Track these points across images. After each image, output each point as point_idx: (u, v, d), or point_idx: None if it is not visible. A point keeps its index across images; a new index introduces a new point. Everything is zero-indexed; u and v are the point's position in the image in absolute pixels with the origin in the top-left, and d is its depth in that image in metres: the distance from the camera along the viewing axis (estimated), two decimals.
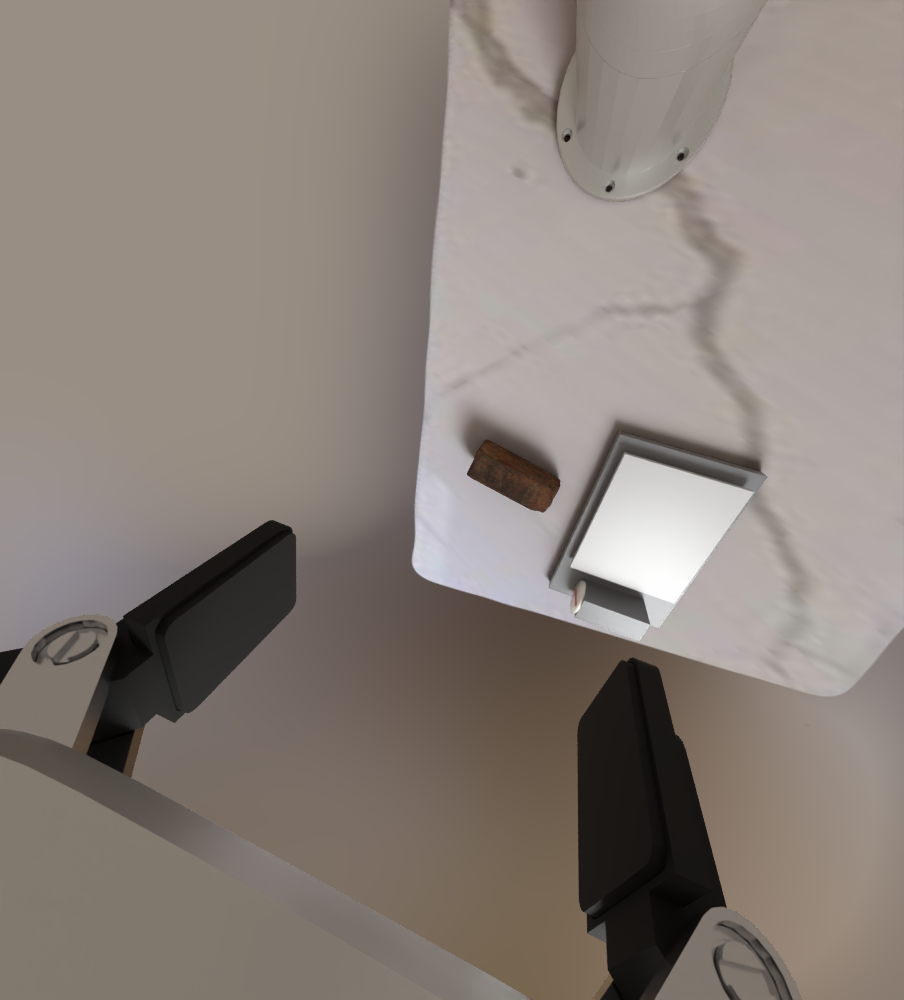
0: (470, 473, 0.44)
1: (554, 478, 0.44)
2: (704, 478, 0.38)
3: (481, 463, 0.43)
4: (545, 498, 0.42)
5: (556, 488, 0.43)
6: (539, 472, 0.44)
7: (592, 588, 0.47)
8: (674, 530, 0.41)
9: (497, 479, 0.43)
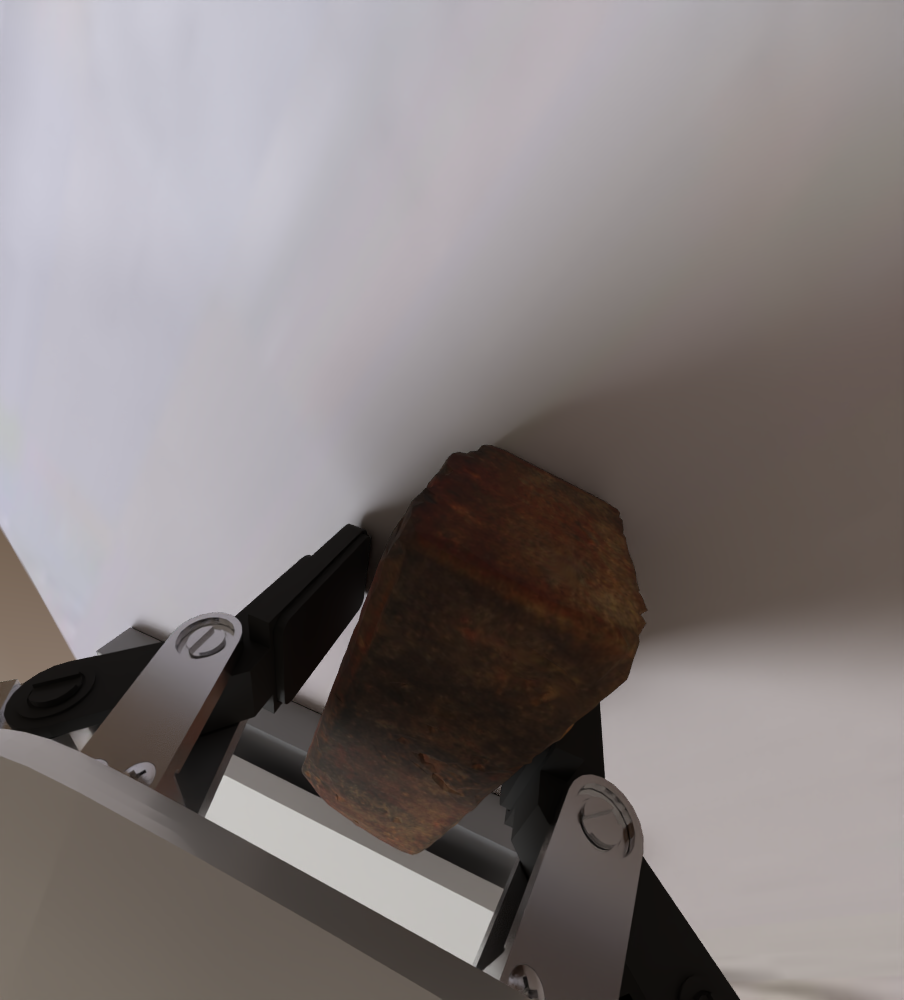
0: (418, 568, 0.05)
1: None
2: None
3: (520, 662, 0.05)
4: (366, 829, 0.10)
5: None
6: None
7: None
8: None
9: (408, 720, 0.06)
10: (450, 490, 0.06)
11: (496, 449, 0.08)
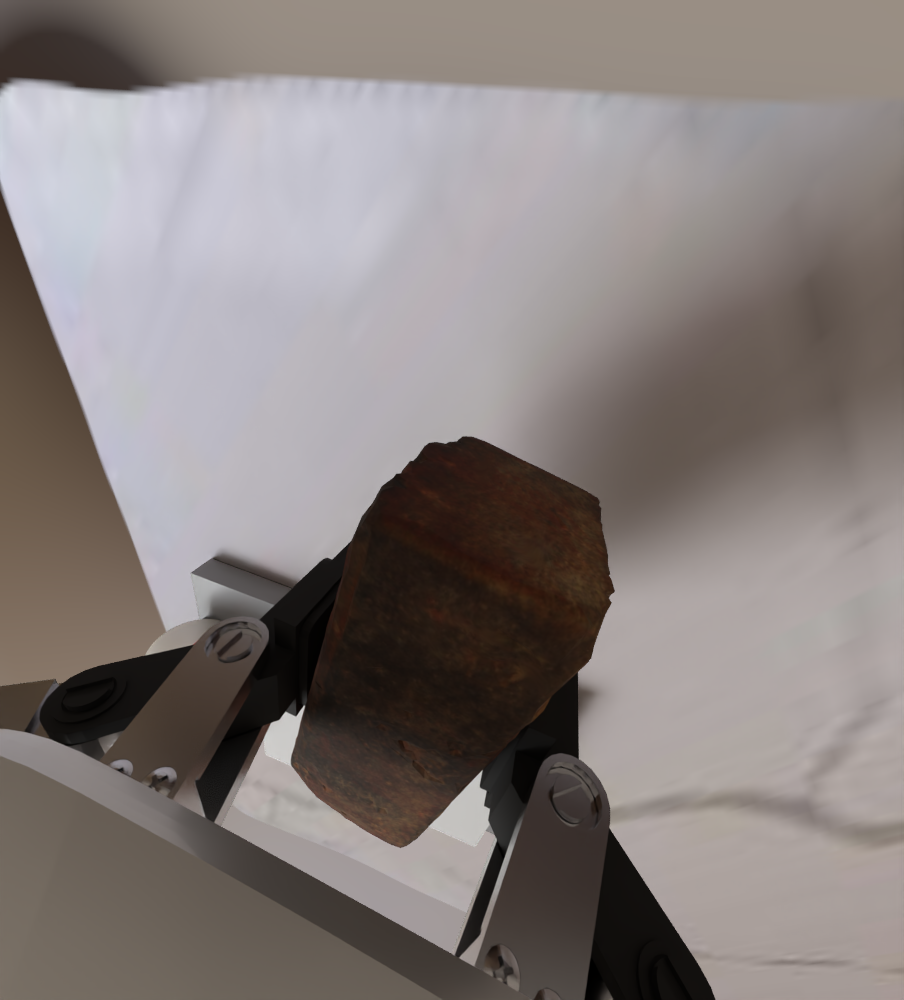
0: (384, 550, 0.05)
1: None
2: None
3: (487, 642, 0.05)
4: (355, 822, 0.10)
5: None
6: None
7: None
8: None
9: (385, 706, 0.06)
10: (422, 476, 0.06)
11: (476, 440, 0.08)
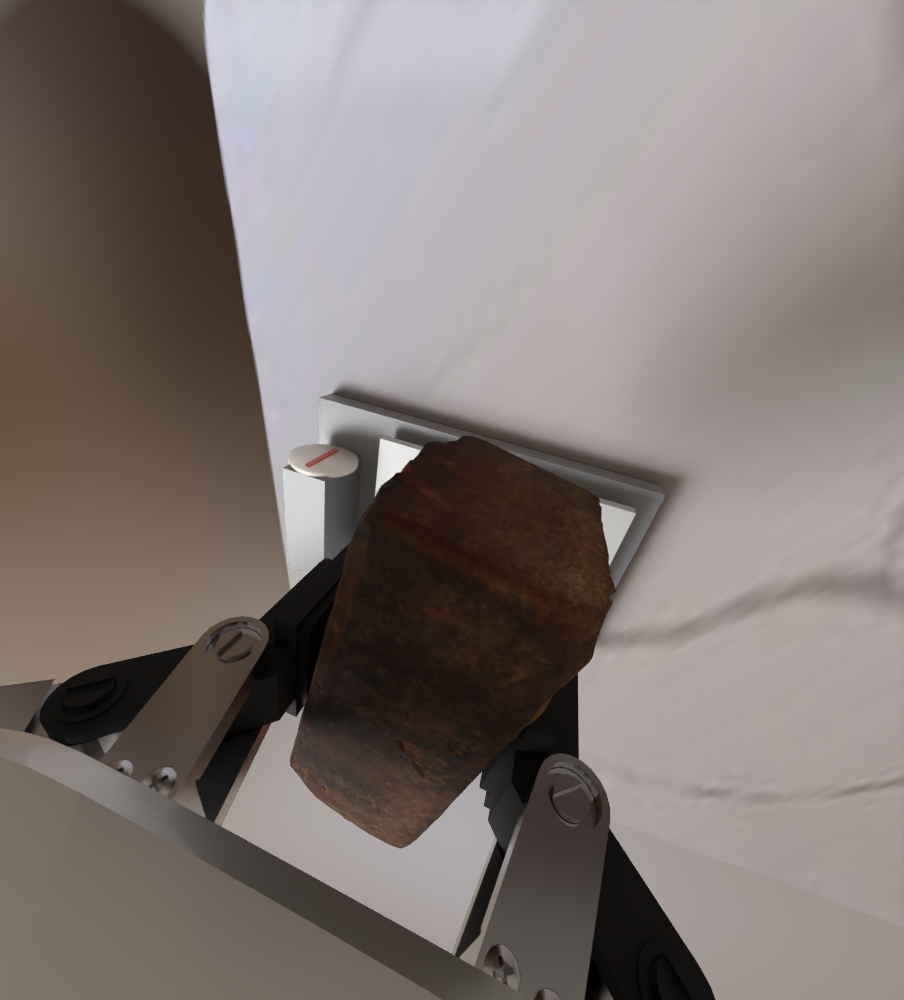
0: (383, 549, 0.05)
1: None
2: None
3: (487, 642, 0.05)
4: (355, 822, 0.10)
5: None
6: None
7: (350, 479, 0.25)
8: None
9: (385, 706, 0.06)
10: (422, 475, 0.06)
11: (476, 439, 0.08)
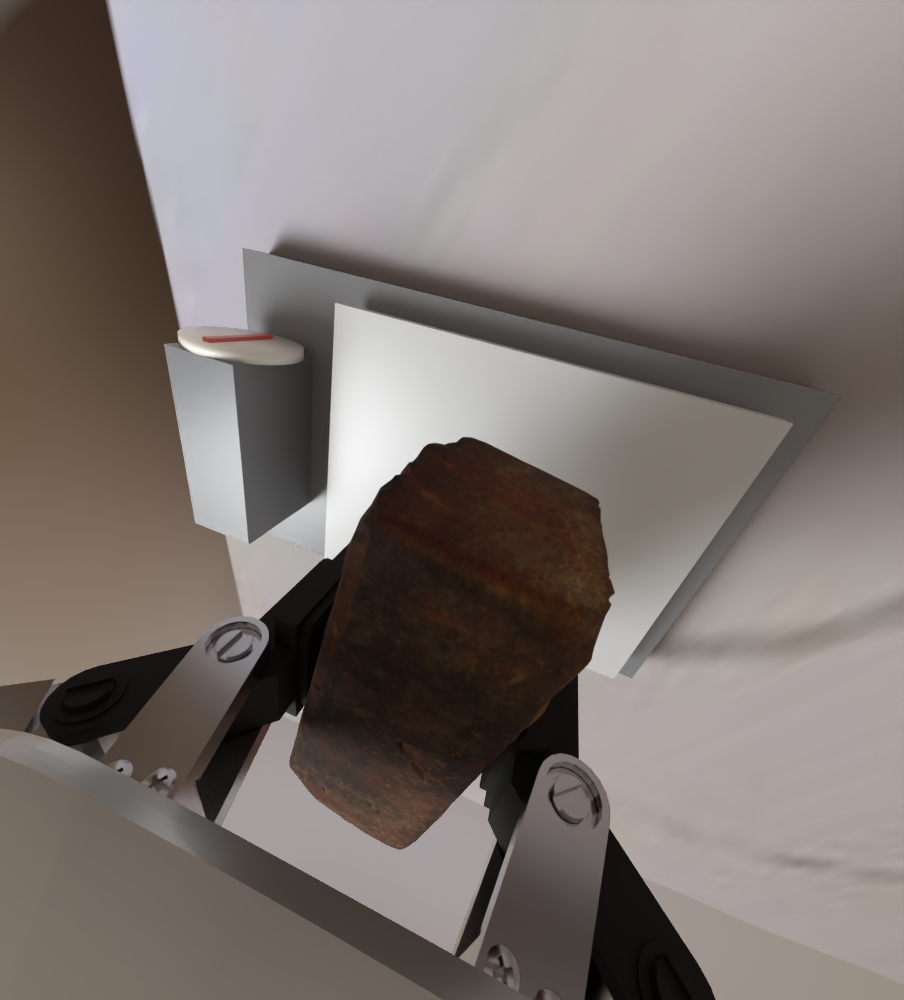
0: (382, 552, 0.05)
1: None
2: (659, 609, 0.15)
3: (486, 644, 0.05)
4: (355, 823, 0.10)
5: None
6: None
7: (291, 385, 0.16)
8: None
9: (384, 708, 0.06)
10: (421, 477, 0.06)
11: (475, 440, 0.08)
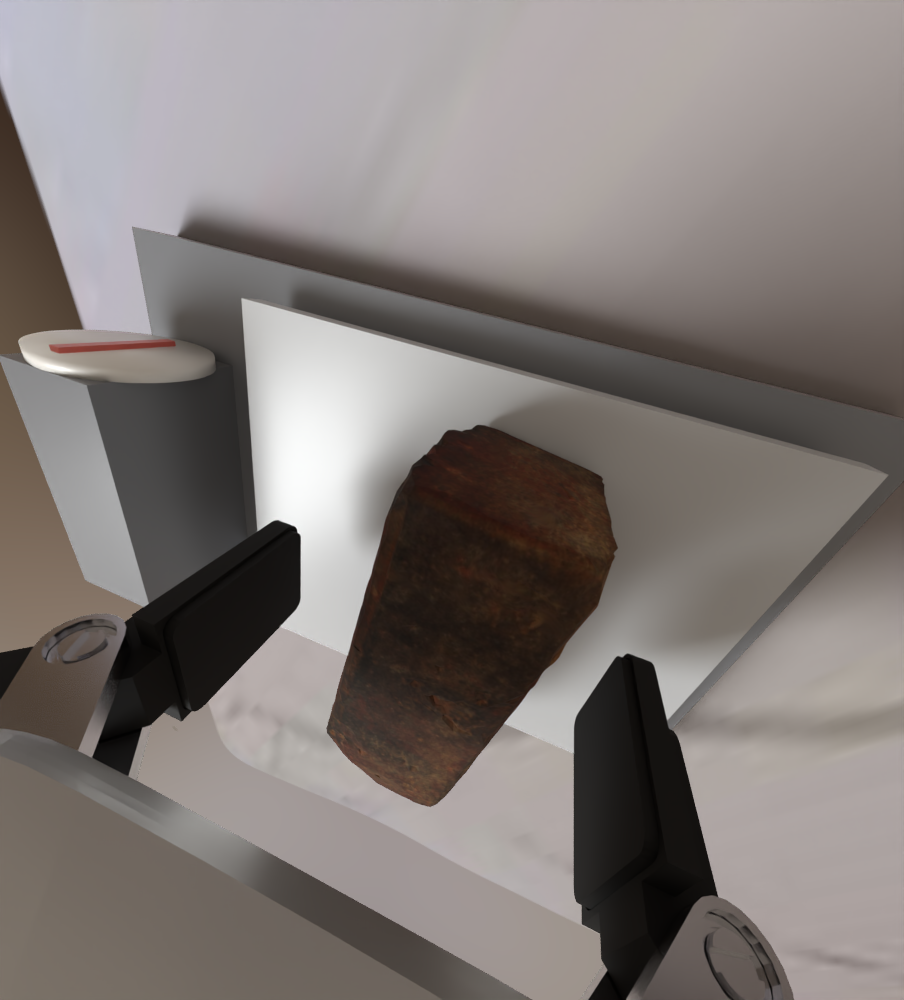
0: (419, 516, 0.06)
1: None
2: (680, 700, 0.12)
3: (509, 593, 0.06)
4: (388, 784, 0.10)
5: None
6: None
7: (200, 406, 0.12)
8: None
9: (419, 662, 0.07)
10: (445, 457, 0.07)
11: (488, 427, 0.09)
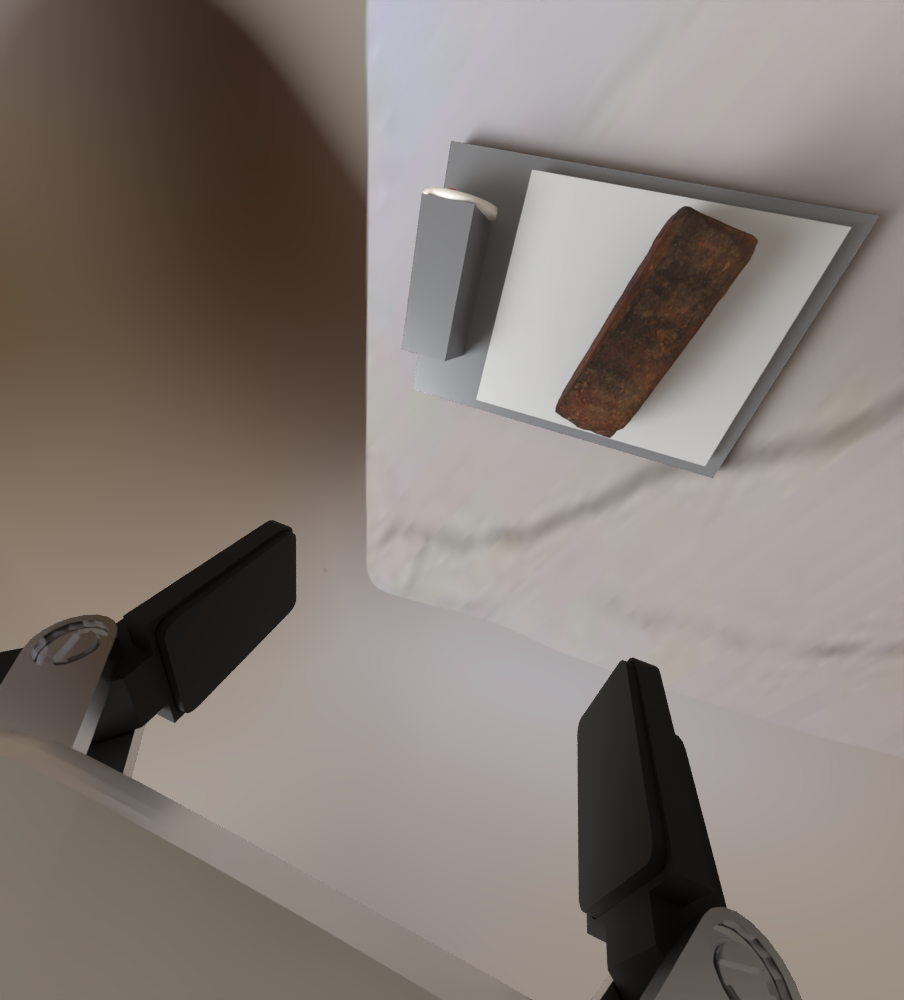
0: (690, 218, 0.16)
1: None
2: (747, 394, 0.22)
3: (718, 253, 0.16)
4: (598, 419, 0.21)
5: (610, 434, 0.22)
6: None
7: (481, 241, 0.22)
8: None
9: (660, 306, 0.17)
10: None
11: None
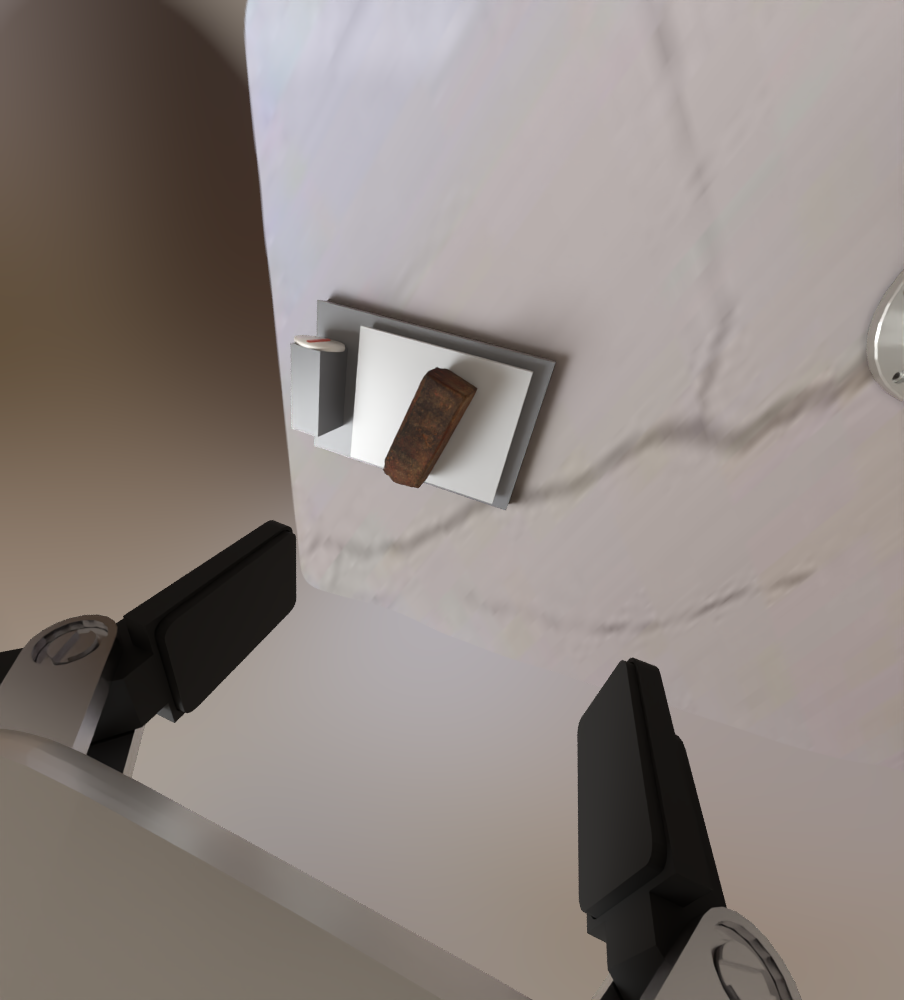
0: (428, 380, 0.28)
1: (427, 476, 0.36)
2: (504, 460, 0.34)
3: (444, 399, 0.29)
4: (402, 478, 0.33)
5: (415, 486, 0.34)
6: (433, 462, 0.34)
7: (338, 362, 0.35)
8: None
9: (421, 421, 0.30)
10: (435, 371, 0.29)
11: None
